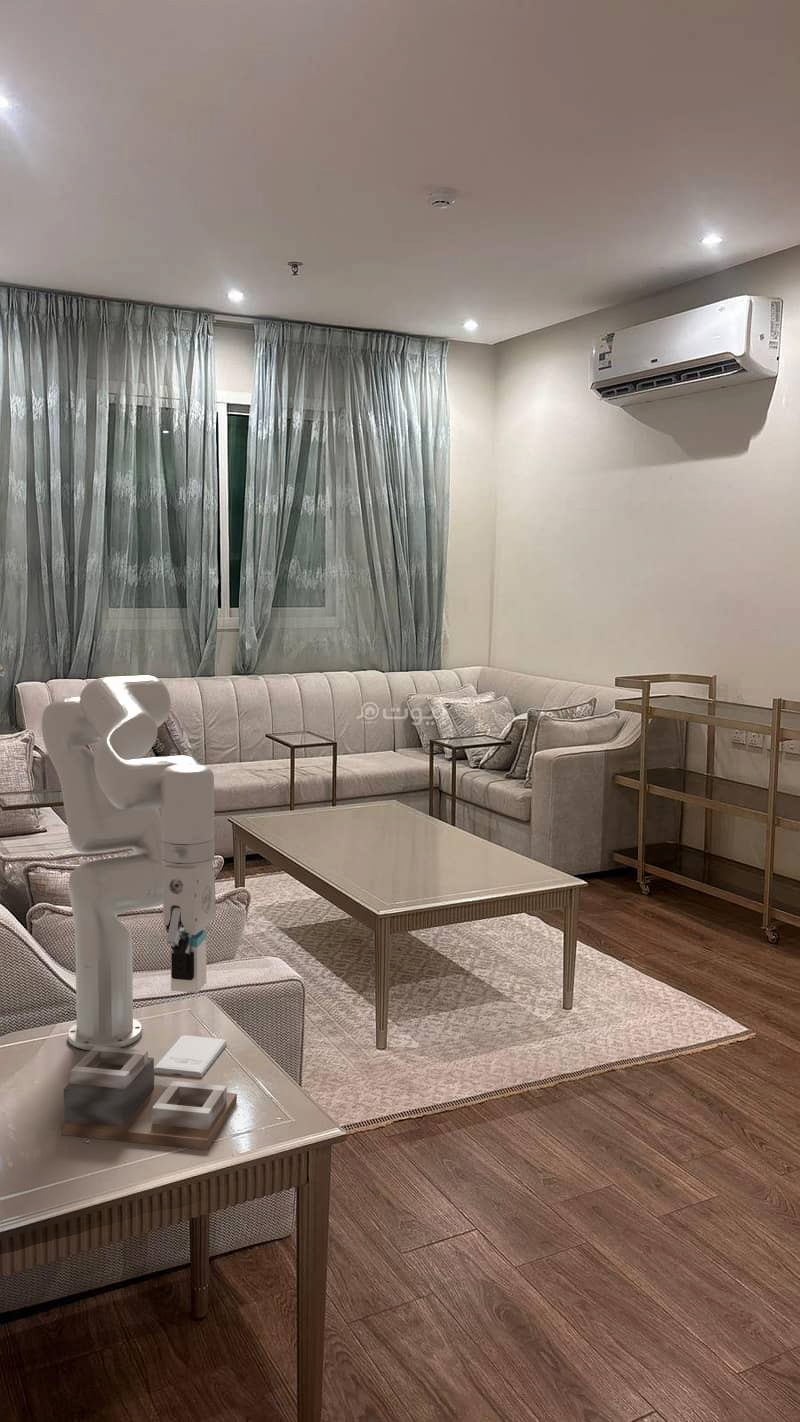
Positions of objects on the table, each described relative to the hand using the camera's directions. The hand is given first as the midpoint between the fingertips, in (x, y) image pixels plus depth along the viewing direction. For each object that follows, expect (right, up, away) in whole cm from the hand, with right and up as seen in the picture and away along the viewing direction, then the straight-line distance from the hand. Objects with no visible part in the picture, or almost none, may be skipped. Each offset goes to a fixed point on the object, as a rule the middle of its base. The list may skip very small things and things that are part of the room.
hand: (188, 971), depth 158 cm
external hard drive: (-4, -21, +24) cm, 32 cm away
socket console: (-6, -23, +4) cm, 24 cm away
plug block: (0, -2, 0) cm, 2 cm away
